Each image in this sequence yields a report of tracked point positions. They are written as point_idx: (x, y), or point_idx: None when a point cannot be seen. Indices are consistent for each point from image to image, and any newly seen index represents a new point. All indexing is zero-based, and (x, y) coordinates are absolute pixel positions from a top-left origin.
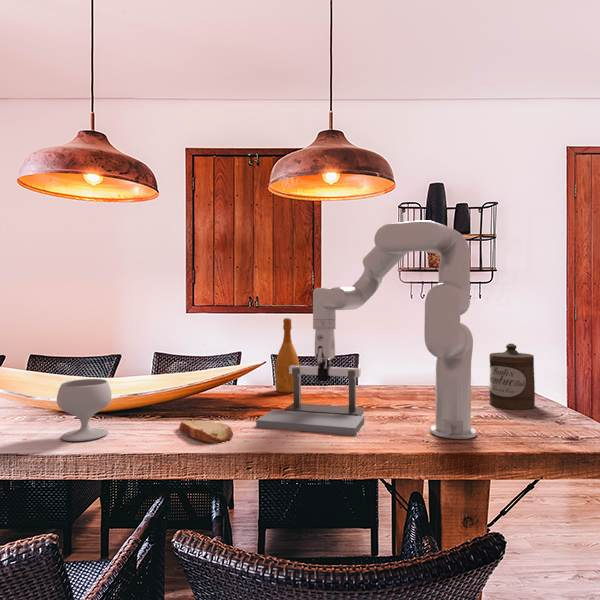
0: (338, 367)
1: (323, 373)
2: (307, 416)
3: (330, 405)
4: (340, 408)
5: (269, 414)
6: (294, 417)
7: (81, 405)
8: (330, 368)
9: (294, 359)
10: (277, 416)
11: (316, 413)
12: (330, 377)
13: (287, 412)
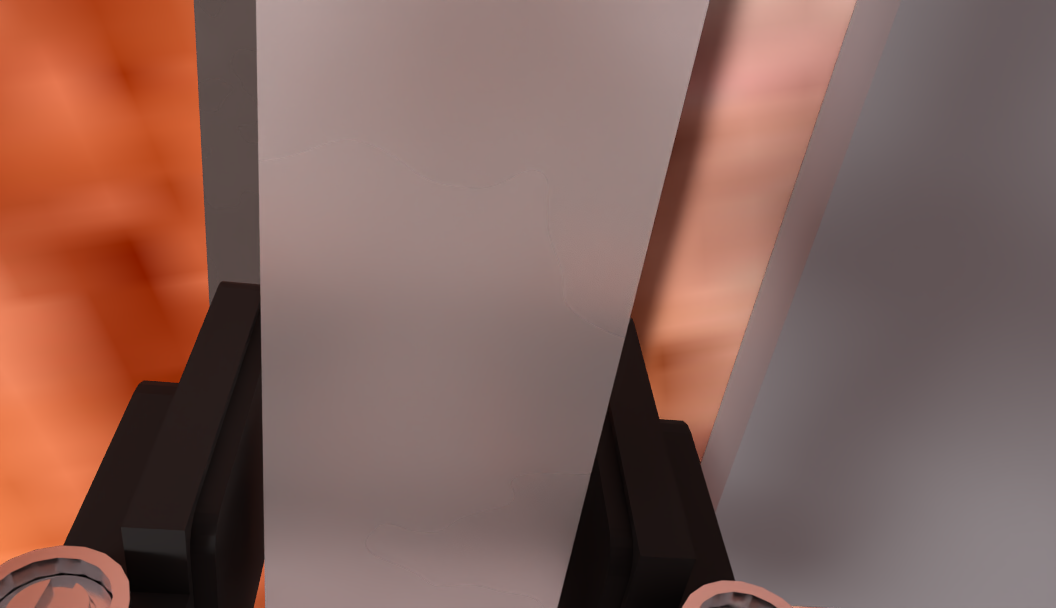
0: (332, 232)
1: (708, 526)
2: (1027, 248)
3: (206, 36)
4: None
5: (886, 583)
6: (1052, 368)
7: None
8: (584, 487)
9: None
10: (979, 513)
11: (870, 167)
12: (243, 294)
13: (804, 469)
